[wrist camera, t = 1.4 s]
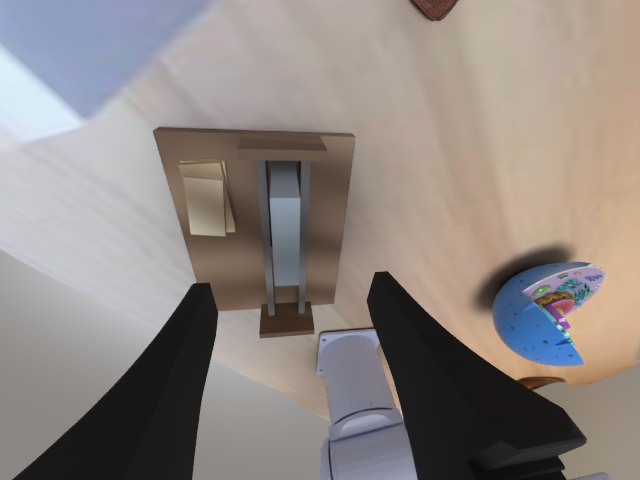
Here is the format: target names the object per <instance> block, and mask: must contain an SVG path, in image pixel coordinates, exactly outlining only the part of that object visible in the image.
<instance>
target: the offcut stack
mask: <svg viewBox="0 0 640 480" xmlns="http://www.w3.org/2000/svg"><path fill="white" fill-rule="evenodd" d="M178 167H179V170H180V173H181V176H182V179H183V182H184V188H185V196H186V203H187V210H188V218H189V225H190V232H191V234H193V235H210V236H226V232H235V230H236V222H235V217H234V213H233V206H232V199H231V193H230V186H229V179H228V173H227V166H226V159H181V160H180V163H179V164H178Z"/></svg>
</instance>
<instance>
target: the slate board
mask: <svg viewBox="0 0 640 480" xmlns="http://www.w3.org/2000/svg"><path fill="white" fill-rule="evenodd" d="M270 211H271V229H272V246H273V264H274V282H275V286H289V285H299V249H300V193H299V186H298V180H297V174H296V168H295V161H275V160H272V170H271V186H270Z"/></svg>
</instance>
